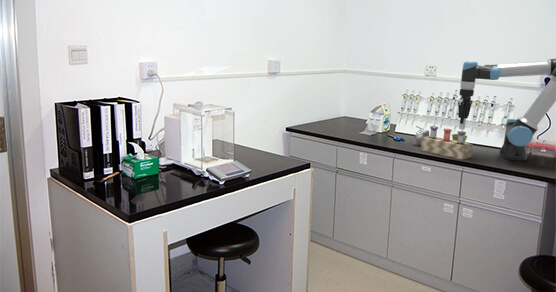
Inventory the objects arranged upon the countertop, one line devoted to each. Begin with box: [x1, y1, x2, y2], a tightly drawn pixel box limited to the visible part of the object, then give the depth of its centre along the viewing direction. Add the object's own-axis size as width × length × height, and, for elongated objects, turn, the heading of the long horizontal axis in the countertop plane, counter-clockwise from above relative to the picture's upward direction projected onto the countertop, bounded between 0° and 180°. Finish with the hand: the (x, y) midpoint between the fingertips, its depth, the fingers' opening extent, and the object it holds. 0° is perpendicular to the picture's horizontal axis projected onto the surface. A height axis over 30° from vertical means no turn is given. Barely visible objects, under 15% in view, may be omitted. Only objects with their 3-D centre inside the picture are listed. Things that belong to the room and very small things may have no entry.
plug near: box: [457, 130, 467, 145], centre depth 266 cm, size 5×5×10 cm
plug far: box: [429, 125, 439, 139], centre depth 279 cm, size 5×5×10 cm
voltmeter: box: [413, 125, 430, 147], centre depth 299 cm, size 27×11×10 cm, turn 5°
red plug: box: [442, 128, 453, 142], centre depth 273 cm, size 5×5×10 cm
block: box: [419, 135, 474, 161], centre depth 274 cm, size 28×10×8 cm, turn 40°
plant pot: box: [451, 133, 468, 143], centre depth 288 cm, size 9×9×9 cm
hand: (461, 129), depth 265 cm, fingers closed
